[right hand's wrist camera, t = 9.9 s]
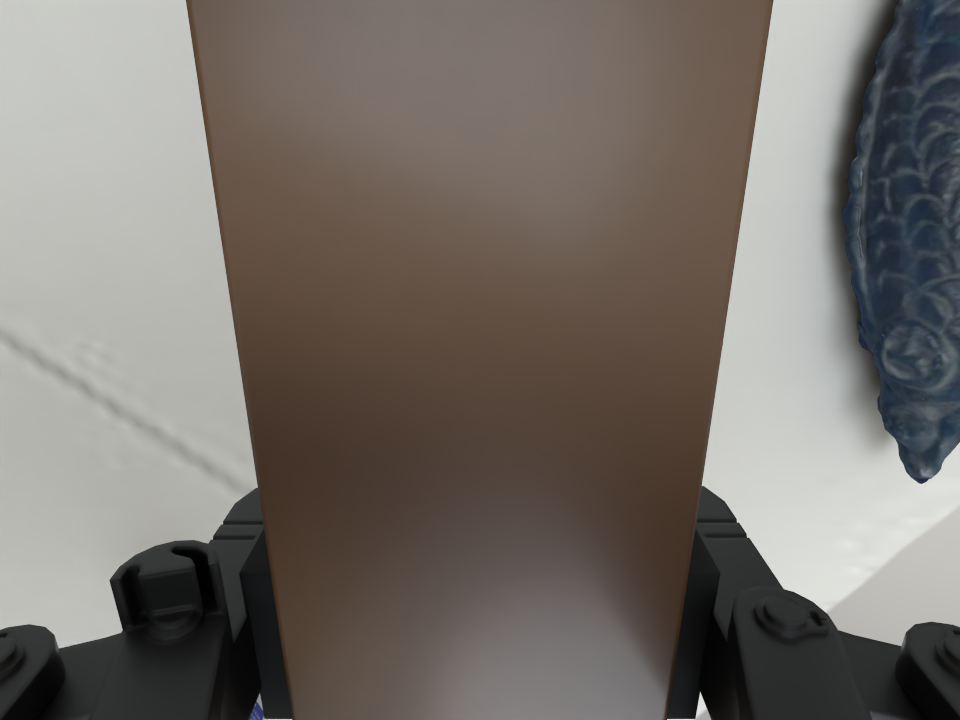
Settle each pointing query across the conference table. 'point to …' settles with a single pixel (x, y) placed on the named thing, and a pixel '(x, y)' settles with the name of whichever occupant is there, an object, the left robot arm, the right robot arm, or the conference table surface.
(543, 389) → the beam
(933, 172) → the fish model
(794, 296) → the conference table surface
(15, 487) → the conference table surface
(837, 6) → the conference table surface
